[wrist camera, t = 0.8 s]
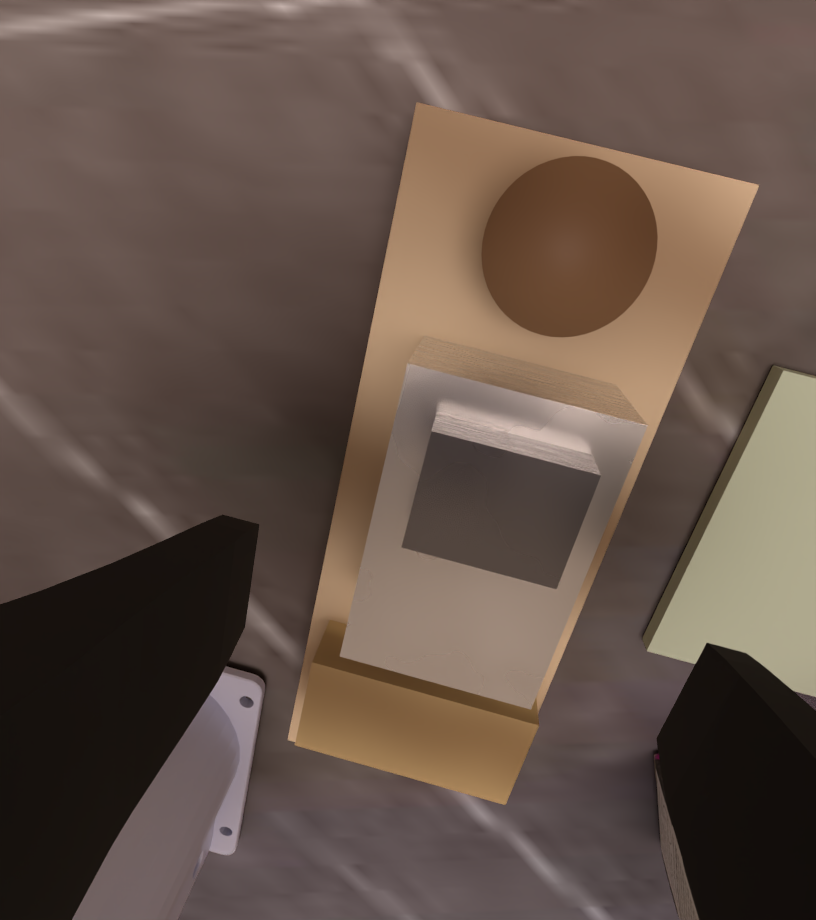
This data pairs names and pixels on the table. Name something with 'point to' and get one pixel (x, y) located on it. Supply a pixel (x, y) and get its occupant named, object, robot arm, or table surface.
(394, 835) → the table surface
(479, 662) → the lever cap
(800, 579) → the felt mat
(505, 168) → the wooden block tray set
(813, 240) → the table surface
